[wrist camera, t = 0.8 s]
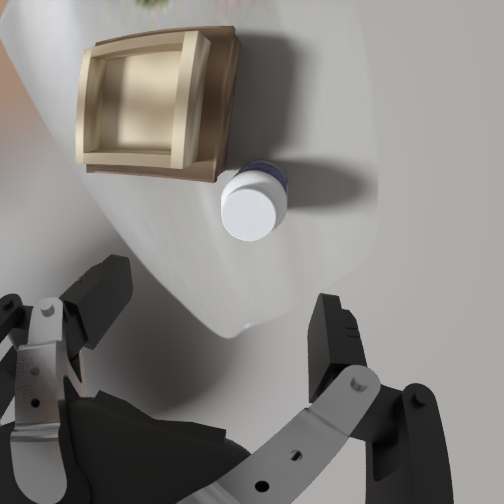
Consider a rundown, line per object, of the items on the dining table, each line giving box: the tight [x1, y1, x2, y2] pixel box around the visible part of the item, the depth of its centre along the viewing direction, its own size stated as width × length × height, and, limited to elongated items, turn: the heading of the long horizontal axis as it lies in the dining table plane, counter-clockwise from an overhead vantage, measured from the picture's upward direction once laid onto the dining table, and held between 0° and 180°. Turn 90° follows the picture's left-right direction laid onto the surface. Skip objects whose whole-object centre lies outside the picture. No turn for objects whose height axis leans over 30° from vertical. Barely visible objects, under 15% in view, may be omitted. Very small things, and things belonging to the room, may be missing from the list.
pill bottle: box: [221, 160, 288, 241], centre depth 23 cm, size 5×5×10 cm
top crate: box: [76, 31, 211, 169], centre depth 19 cm, size 11×11×4 cm
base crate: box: [86, 26, 241, 183], centre depth 22 cm, size 14×14×5 cm
